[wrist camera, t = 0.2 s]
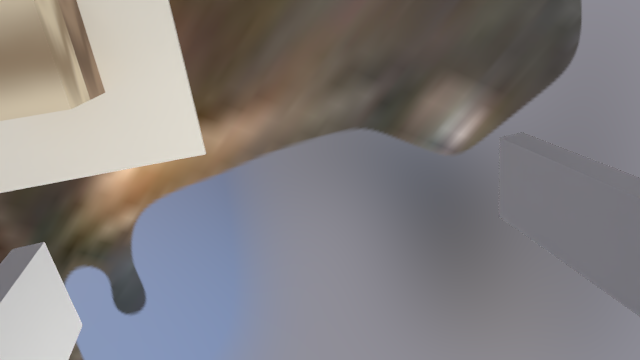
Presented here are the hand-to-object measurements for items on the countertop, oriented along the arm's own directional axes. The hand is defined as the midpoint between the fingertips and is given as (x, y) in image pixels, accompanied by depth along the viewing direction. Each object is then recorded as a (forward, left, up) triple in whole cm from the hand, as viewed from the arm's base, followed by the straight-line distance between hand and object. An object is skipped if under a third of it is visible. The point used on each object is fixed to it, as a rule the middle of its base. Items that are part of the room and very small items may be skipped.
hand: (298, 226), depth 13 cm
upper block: (-6, -15, -22) cm, 28 cm away
